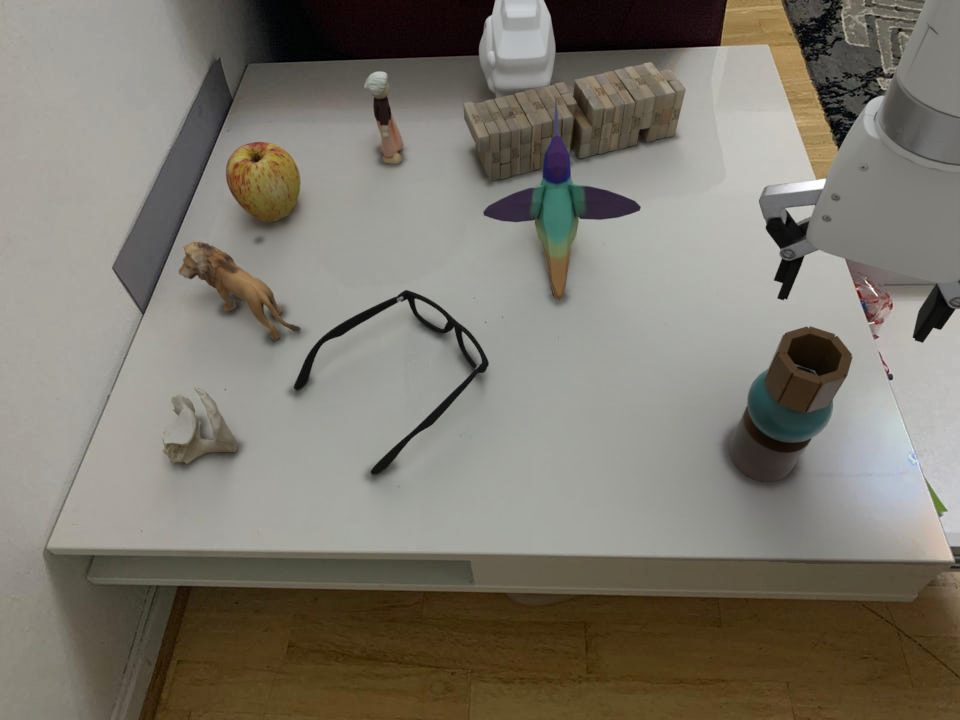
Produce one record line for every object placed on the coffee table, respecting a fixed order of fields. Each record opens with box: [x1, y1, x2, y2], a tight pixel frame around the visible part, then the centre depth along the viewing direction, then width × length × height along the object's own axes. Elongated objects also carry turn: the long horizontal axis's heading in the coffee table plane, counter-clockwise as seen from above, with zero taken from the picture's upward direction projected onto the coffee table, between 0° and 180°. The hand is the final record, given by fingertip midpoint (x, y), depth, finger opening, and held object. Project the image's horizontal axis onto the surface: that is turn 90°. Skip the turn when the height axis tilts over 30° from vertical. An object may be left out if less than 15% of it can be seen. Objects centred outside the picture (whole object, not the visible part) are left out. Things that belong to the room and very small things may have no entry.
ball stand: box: [728, 364, 834, 483], centre depth 68 cm, size 7×7×13 cm
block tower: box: [463, 61, 687, 181], centre depth 100 cm, size 8×8×29 cm
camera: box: [478, 0, 556, 98], centre depth 104 cm, size 11×18×16 cm, turn 0°
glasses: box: [293, 289, 490, 476], centre depth 79 cm, size 17×18×5 cm
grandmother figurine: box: [363, 71, 404, 165], centre depth 99 cm, size 8×4×13 cm, turn 22°
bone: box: [162, 386, 238, 465], centre depth 75 cm, size 9×6×10 cm
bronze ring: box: [764, 326, 853, 413], centre depth 62 cm, size 6×6×4 cm
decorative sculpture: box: [482, 98, 642, 301], centre depth 86 cm, size 17×18×15 cm
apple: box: [225, 141, 301, 222], centre depth 94 cm, size 9×9×10 cm
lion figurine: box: [178, 241, 302, 341], centre depth 84 cm, size 15×5×9 cm, turn 62°
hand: (851, 306), depth 55 cm, fingers open, 9 cm apart
